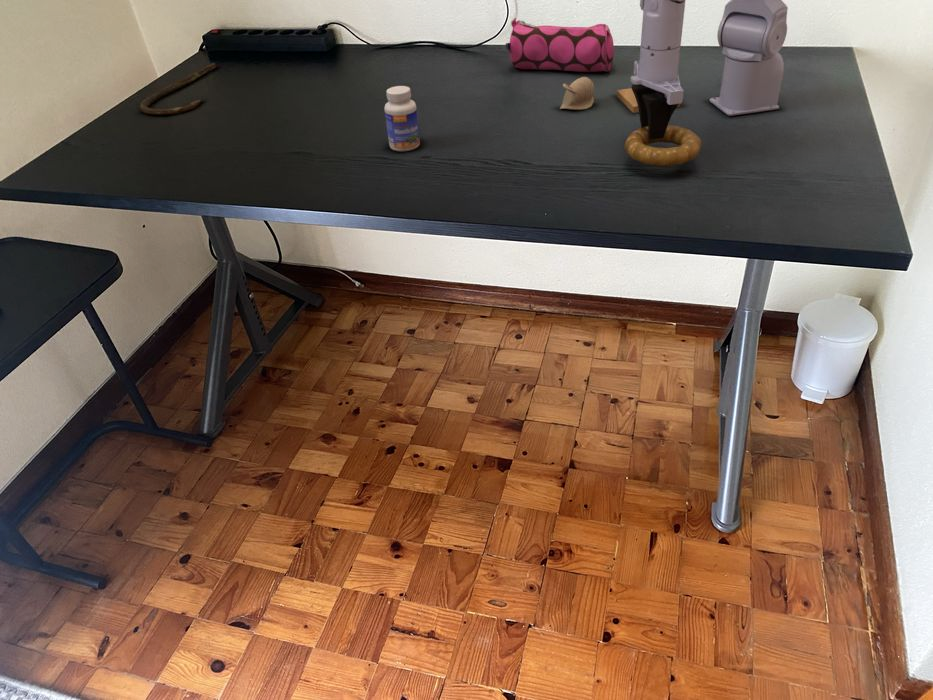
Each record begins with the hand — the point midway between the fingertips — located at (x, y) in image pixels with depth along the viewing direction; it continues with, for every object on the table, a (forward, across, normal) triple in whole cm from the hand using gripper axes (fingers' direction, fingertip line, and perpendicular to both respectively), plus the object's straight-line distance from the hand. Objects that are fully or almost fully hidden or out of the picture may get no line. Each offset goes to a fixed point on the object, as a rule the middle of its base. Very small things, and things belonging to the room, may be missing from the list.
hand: (652, 133), depth 115 cm
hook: (+3, -62, -79) cm, 100 cm away
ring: (0, +4, 0) cm, 4 cm away
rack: (+3, -22, +8) cm, 23 cm away
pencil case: (+4, -45, -2) cm, 45 cm away
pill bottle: (+3, -17, -38) cm, 42 cm away
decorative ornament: (+3, -24, -5) cm, 24 cm away
